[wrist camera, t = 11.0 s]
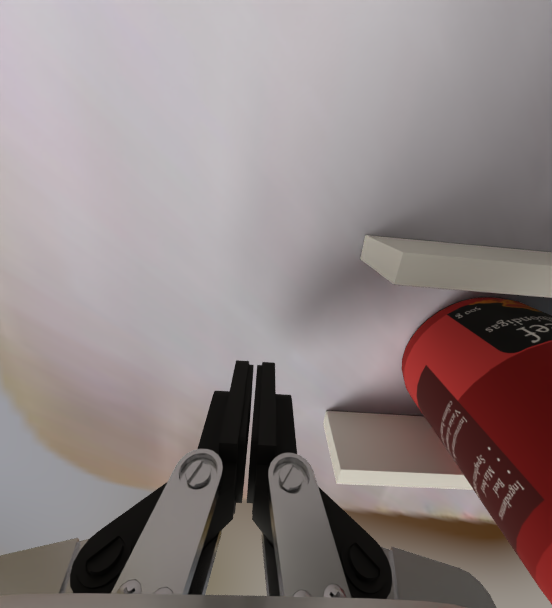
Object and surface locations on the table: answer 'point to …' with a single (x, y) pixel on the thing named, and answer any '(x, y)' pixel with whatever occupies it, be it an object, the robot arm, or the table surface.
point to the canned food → (494, 412)
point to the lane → (415, 429)
